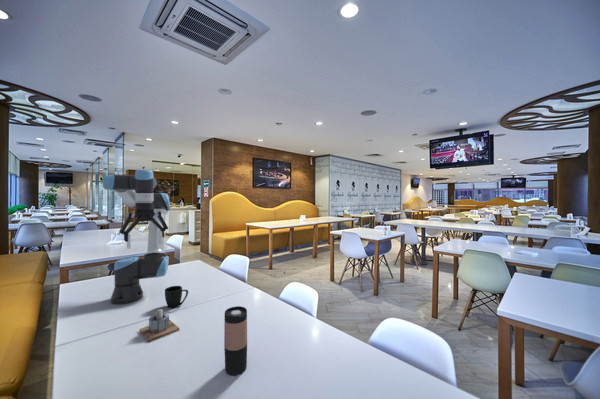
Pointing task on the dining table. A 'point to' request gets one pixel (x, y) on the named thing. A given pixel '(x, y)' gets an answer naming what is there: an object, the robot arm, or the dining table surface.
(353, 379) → the dining table surface
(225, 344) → the travel mug
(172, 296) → the mug
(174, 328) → the shaft stand
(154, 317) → the ring
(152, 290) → the dining table surface
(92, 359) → the dining table surface
